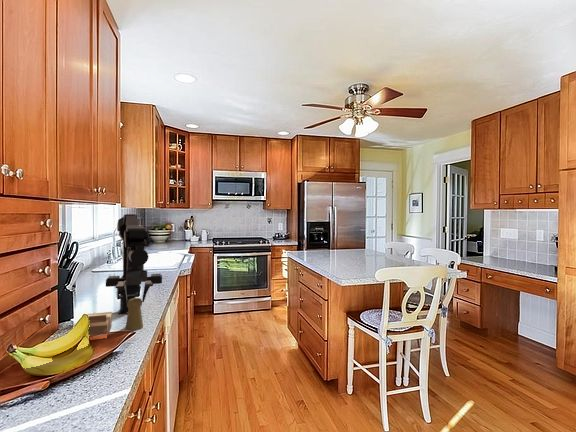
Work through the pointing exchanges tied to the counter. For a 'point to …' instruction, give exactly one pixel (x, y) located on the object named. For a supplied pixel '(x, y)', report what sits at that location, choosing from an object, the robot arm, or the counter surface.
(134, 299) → the brown bottle
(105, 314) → the lid
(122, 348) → the counter surface
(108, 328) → the toolbox
